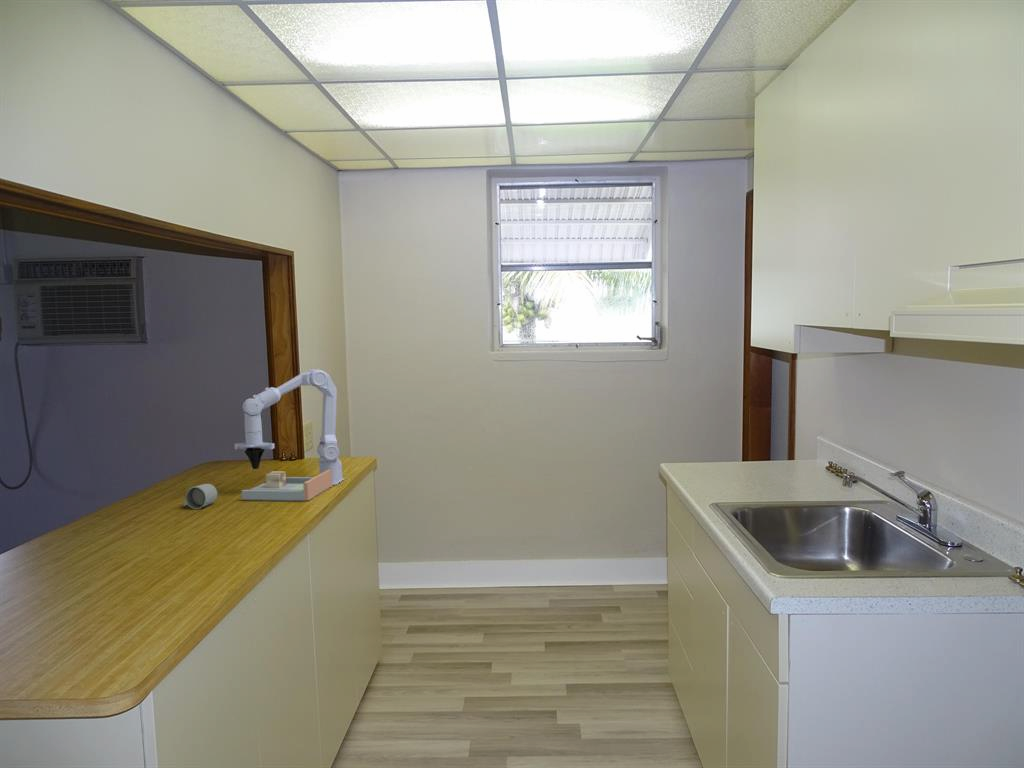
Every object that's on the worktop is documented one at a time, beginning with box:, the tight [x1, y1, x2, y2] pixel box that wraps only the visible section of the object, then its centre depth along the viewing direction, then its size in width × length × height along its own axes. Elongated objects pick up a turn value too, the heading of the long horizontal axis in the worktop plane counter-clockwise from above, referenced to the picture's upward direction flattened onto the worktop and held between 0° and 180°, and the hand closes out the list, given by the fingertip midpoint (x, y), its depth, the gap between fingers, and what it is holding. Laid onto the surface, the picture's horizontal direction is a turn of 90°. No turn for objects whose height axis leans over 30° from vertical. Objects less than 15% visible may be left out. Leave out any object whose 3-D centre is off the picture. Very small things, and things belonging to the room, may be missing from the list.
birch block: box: [265, 470, 287, 488], centre depth 247 cm, size 5×5×5 cm
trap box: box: [241, 470, 334, 502], centre depth 247 cm, size 21×24×6 cm
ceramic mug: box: [182, 483, 218, 510], centre depth 233 cm, size 11×8×8 cm
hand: (255, 468), depth 248 cm, fingers closed
